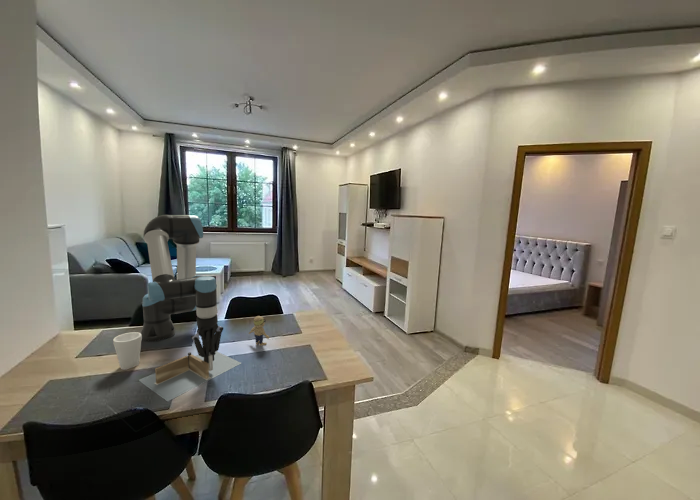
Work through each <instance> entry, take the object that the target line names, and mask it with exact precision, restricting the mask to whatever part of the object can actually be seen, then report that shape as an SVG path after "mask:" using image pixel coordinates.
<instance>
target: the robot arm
mask: <svg viewBox="0 0 700 500" xmlns="http://www.w3.org/2000/svg"><path fill="white" fill-rule="evenodd" d="M203 238H204V229H203V224H202V221H201V218H200V217H199V216H197V215H190V214H162V215H161V214H160V215H158V216H155V217H154V218H152V219H151V220H150V221H149V222H148V223H147V224H146V225H145V228H144V230H143V240H144V242H145V243H146V245H147V251H148V259H149V265H150V273H151V280H152V281H151V282H148V283H147V293H146V294H144V296H143V297H142V305H141V306H142V312H143V313H142V314H143V326H142V327H141V332H140V333H141V334H142V340H141V341H143V342H159V341H163V340H166V339H169V338H171V337H173V336H174V335H175V334H176V327H175V326H174V323H173V321H172V320H171V319H172V318H171V315H175V314H176V315H177V314H181V313H182V314H183V313H187V312H193V311H196V312H195V313H196V316H197V317H196V326H197V328H196V329H197V330H196V333H195V334H194V335H191V337H190V339H191V340H192V341H193V342H194V345H195V349H196V351H197V355H199V356H201V357H204V361H205V362H207V363H208V367H209V371H211V370H213V361H214V355H215V354H216V353H215V352H216V351H217V352H219V350H220V349H219V348H220V342H221V337H222V333H223V331H224V327H223V326H221V325H219V324H218V323H219V322H218V319H219V318H218V300H217V299H218V298H217V294H218V293H217V286H218V285H217V279H216V278H215V277H214V276H210V275H209V276H207V275H205V276H204V275H199V274H197V268H196V267H197V245H198V244H199V243H200V239H203ZM169 240H172V242H173V243H174V244H175V245H176V262H177V263H176V269H177V271H176V274H177V275H176V276H177V277H176V279H175V275H174V269H173V265H172V264H173V263H172V260H171V253H170V250H169V249H170V248H169V244H168V241H169ZM200 339H201V340H200ZM201 341H202V342H201Z"/></svg>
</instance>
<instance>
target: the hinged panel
mask: <svg viewBox="0 0 700 500" xmlns="http://www.w3.org/2000/svg"><path fill="white" fill-rule="evenodd" d="M187 356H188V364H189V368H190V369H191V370H193V371H194V372H196V373H198V374H199V375H201V376H202V377H204V378H208V377H209V367H208V363H207V362H205V361H203V360H201V359H200V358H198V357H196V355H194V354H193V353H192V352H191V351H190V352H188V353H187Z"/></svg>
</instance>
